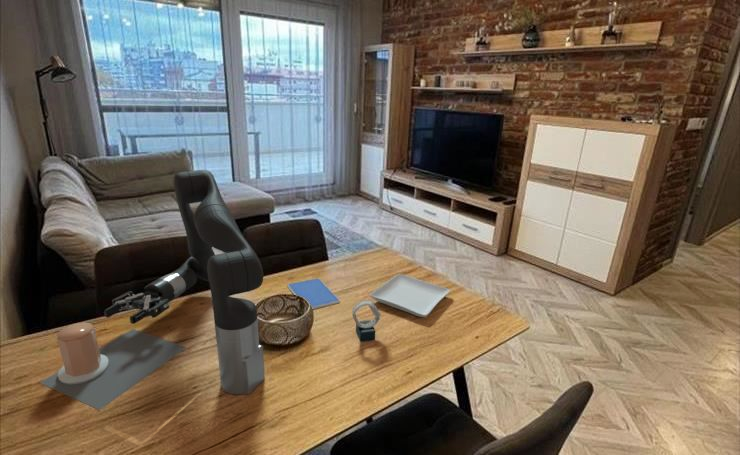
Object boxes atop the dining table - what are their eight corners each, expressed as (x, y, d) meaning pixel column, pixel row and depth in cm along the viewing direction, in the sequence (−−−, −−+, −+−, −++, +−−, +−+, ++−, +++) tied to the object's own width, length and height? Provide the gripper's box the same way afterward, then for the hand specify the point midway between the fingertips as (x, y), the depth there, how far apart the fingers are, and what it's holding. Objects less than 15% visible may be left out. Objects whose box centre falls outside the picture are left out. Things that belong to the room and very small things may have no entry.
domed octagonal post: (106, 362, 97) (99, 326, 94) (79, 379, 91) (70, 341, 88) (88, 355, 99) (80, 320, 96) (60, 371, 94) (50, 334, 90)
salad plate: (450, 297, 139) (451, 288, 138) (425, 324, 122) (426, 314, 121) (398, 280, 150) (398, 272, 148) (367, 303, 132) (368, 294, 131)
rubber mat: (187, 348, 106) (186, 347, 106) (99, 412, 85) (99, 409, 84) (133, 330, 112) (132, 328, 112) (39, 384, 91) (39, 382, 91)
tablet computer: (286, 286, 142) (286, 283, 141) (319, 280, 148) (318, 276, 147) (305, 312, 126) (305, 309, 126) (341, 304, 132) (341, 300, 132)
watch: (381, 339, 113) (383, 305, 110) (354, 342, 111) (355, 308, 108) (376, 328, 118) (377, 295, 115) (349, 331, 116) (350, 298, 113)
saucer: (118, 363, 98) (117, 360, 98) (77, 389, 90) (76, 386, 89) (90, 353, 102) (90, 349, 101) (48, 377, 93) (47, 373, 93)
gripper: (144, 274, 118) (94, 300, 104) (183, 282, 115) (137, 310, 100) (147, 296, 121) (99, 324, 106) (186, 305, 117) (142, 335, 102)
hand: (118, 317), depth 103 cm, fingers open, 8 cm apart
